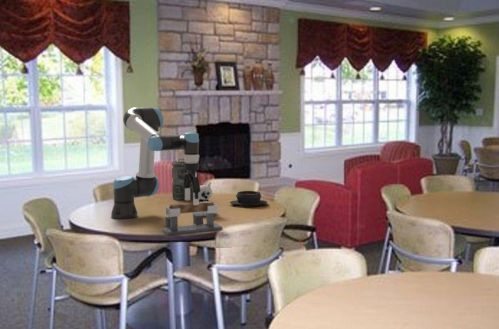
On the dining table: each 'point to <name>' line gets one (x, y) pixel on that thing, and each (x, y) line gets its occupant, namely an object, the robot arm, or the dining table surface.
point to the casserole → (248, 198)
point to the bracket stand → (192, 228)
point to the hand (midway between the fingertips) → (191, 202)
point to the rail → (192, 207)
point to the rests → (196, 220)
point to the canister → (179, 181)
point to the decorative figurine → (204, 196)
